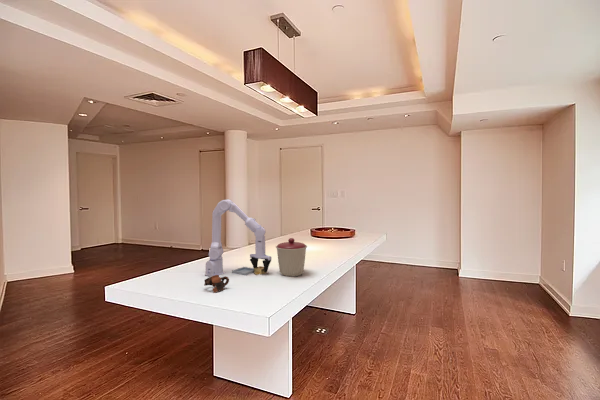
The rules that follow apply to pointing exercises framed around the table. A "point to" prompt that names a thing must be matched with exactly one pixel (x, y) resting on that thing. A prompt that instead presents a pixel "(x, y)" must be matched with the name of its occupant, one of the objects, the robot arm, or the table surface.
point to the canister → (291, 257)
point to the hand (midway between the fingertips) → (260, 271)
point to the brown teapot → (216, 282)
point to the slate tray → (243, 271)
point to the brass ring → (259, 270)
